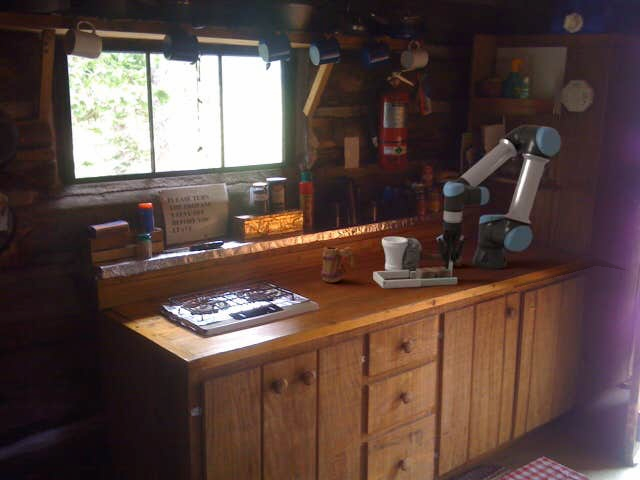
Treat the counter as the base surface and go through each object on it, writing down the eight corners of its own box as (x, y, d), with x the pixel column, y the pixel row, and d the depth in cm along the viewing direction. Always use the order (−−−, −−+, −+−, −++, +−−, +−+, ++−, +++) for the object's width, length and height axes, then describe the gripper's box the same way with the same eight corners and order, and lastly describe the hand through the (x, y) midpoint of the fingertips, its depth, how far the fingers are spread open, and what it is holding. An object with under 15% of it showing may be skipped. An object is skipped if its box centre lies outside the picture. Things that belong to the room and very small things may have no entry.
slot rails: (444, 275, 299) (445, 269, 298) (457, 284, 287) (457, 278, 286) (409, 277, 295) (409, 271, 295) (420, 286, 283) (420, 280, 283)
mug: (317, 282, 286) (317, 246, 282) (323, 277, 293) (324, 242, 290) (351, 286, 281) (352, 250, 277) (357, 281, 288) (358, 245, 285)
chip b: (428, 278, 294) (429, 267, 293) (434, 283, 288) (435, 271, 287) (415, 279, 292) (416, 268, 291) (421, 283, 287) (421, 272, 286)
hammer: (464, 275, 309) (406, 271, 297) (450, 274, 319) (394, 270, 306) (466, 242, 310) (408, 237, 297) (452, 241, 319) (396, 237, 306)
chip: (444, 278, 295) (444, 266, 294) (449, 282, 290) (450, 270, 288) (430, 278, 294) (431, 267, 293) (436, 282, 288) (437, 271, 287)
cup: (377, 268, 308) (378, 237, 304) (400, 266, 311) (402, 235, 307) (386, 275, 297) (387, 243, 294) (410, 273, 300) (412, 241, 297)
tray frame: (407, 276, 296) (408, 270, 295) (419, 286, 283) (420, 279, 282) (373, 278, 292) (373, 271, 292) (383, 288, 279) (383, 281, 278)
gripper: (463, 218, 292) (459, 272, 297) (434, 219, 289) (430, 274, 294) (471, 222, 285) (467, 277, 290) (441, 223, 282) (437, 279, 287)
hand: (448, 275), depth 292 cm, fingers closed
